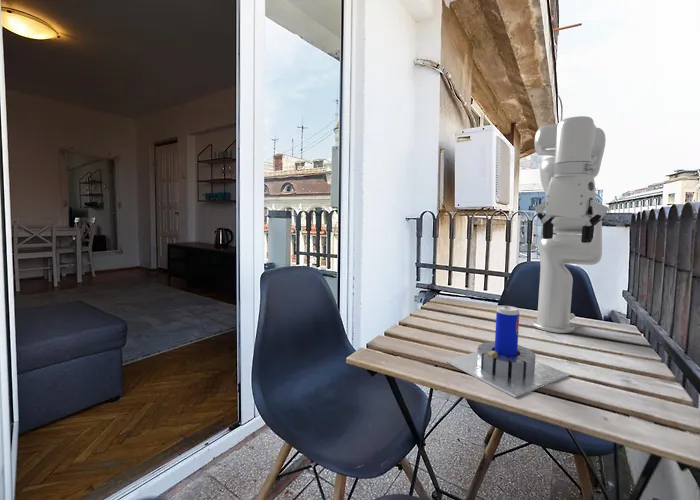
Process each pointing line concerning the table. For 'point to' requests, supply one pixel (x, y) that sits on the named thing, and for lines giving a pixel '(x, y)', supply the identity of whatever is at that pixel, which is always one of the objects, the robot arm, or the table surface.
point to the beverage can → (507, 331)
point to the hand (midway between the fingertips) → (566, 240)
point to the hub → (507, 369)
